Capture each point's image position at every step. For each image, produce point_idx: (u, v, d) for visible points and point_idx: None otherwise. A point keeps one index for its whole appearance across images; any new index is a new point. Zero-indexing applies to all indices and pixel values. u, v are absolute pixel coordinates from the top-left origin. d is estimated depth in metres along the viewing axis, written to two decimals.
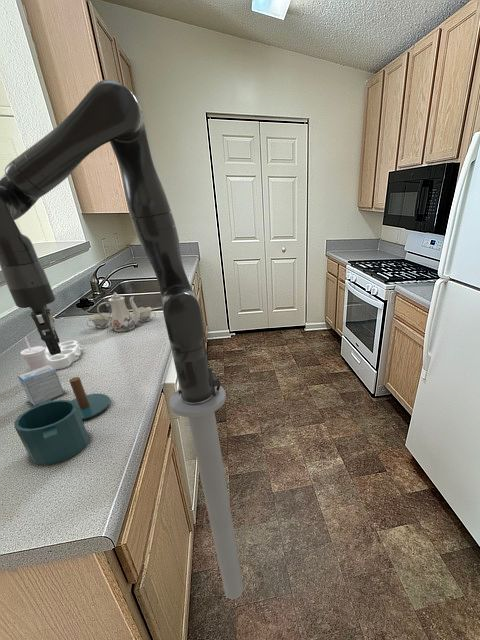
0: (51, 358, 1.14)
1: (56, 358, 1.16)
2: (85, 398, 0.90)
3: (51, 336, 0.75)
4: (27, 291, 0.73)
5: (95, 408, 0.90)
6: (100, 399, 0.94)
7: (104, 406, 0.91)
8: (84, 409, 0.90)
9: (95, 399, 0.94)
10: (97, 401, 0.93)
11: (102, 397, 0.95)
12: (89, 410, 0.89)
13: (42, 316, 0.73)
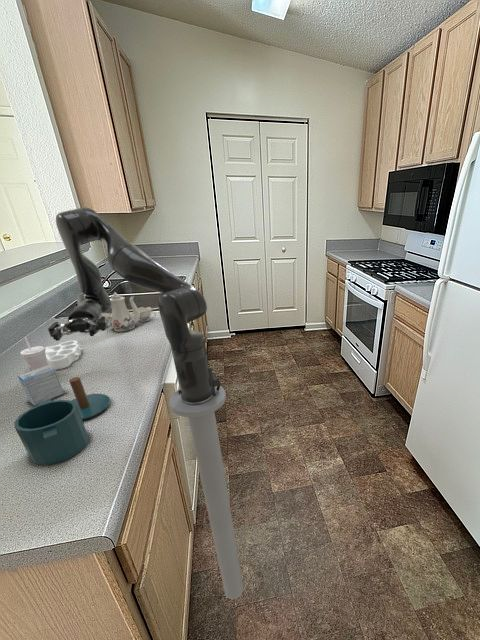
0: (51, 358, 1.14)
1: (56, 358, 1.16)
2: (85, 398, 0.90)
3: None
4: None
5: (95, 408, 0.90)
6: (100, 399, 0.94)
7: (104, 406, 0.91)
8: (84, 409, 0.90)
9: (95, 399, 0.94)
10: (97, 401, 0.93)
11: (102, 397, 0.95)
12: (89, 410, 0.89)
13: None
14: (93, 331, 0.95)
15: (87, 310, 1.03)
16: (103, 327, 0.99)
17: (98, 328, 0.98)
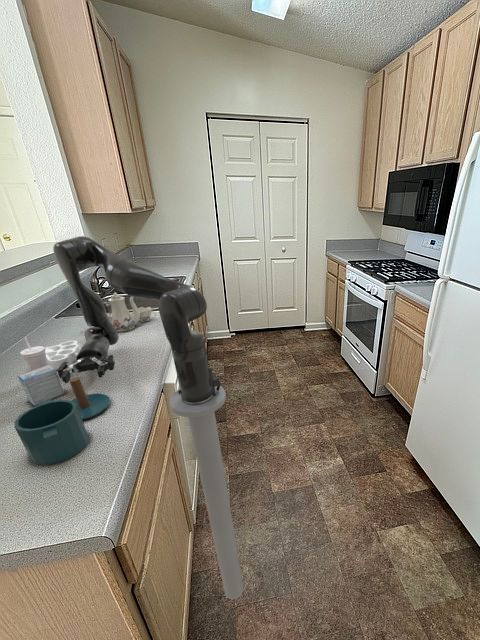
0: (51, 358, 1.14)
1: (56, 358, 1.16)
2: (85, 398, 0.90)
3: None
4: None
5: (95, 408, 0.90)
6: (100, 399, 0.94)
7: (104, 406, 0.91)
8: (84, 409, 0.90)
9: (95, 399, 0.94)
10: (97, 401, 0.93)
11: (102, 397, 0.95)
12: (89, 410, 0.89)
13: None
14: (101, 372, 0.95)
15: (95, 348, 1.03)
16: (111, 367, 1.00)
17: (106, 368, 0.99)
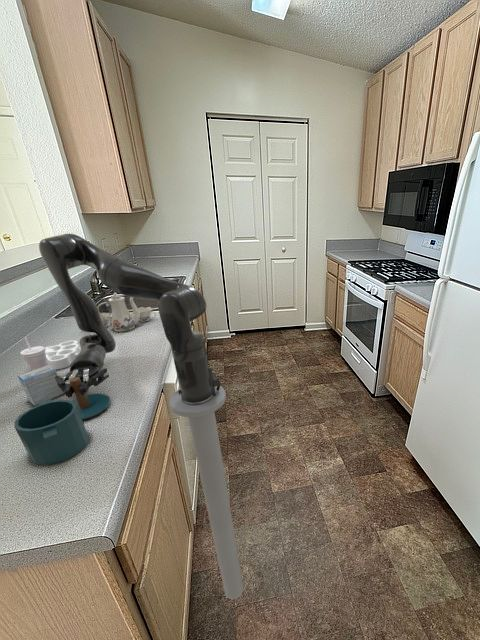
0: (51, 358, 1.14)
1: (56, 358, 1.16)
2: (85, 398, 0.90)
3: None
4: None
5: (95, 408, 0.90)
6: (100, 399, 0.94)
7: (104, 406, 0.91)
8: (84, 409, 0.90)
9: (95, 399, 0.94)
10: (97, 401, 0.93)
11: (102, 397, 0.95)
12: (89, 410, 0.89)
13: (55, 379, 0.92)
14: (84, 389, 0.87)
15: (90, 359, 0.97)
16: (94, 383, 0.91)
17: (90, 384, 0.90)
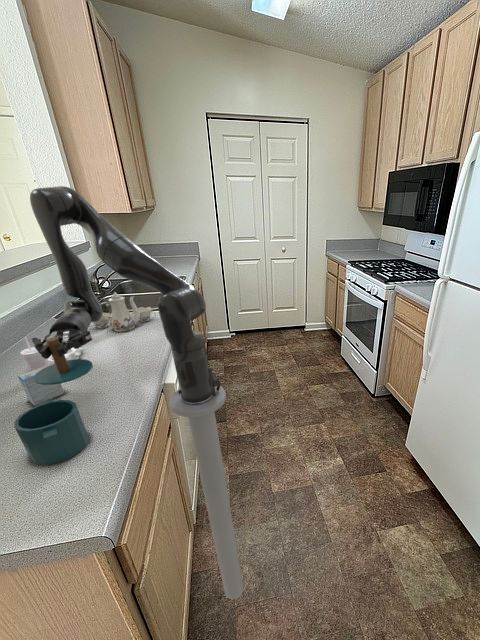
0: (51, 358, 1.14)
1: None
2: (64, 361, 0.81)
3: None
4: None
5: (75, 372, 0.82)
6: (82, 364, 0.85)
7: (85, 370, 0.82)
8: (63, 373, 0.81)
9: (76, 364, 0.86)
10: (78, 366, 0.85)
11: (84, 363, 0.86)
12: (68, 374, 0.81)
13: (32, 341, 0.83)
14: (63, 350, 0.79)
15: (72, 321, 0.88)
16: (75, 345, 0.83)
17: (70, 346, 0.82)
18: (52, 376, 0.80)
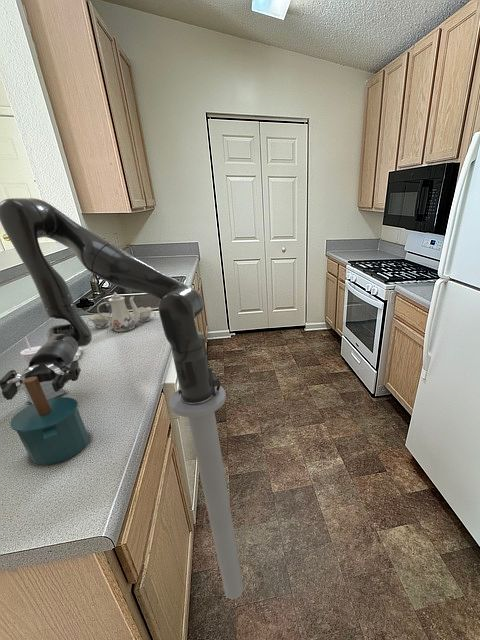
0: None
1: None
2: (45, 403, 0.72)
3: None
4: None
5: (57, 415, 0.72)
6: (66, 404, 0.76)
7: (69, 413, 0.73)
8: (44, 416, 0.72)
9: (60, 404, 0.76)
10: (61, 406, 0.75)
11: (68, 402, 0.77)
12: (50, 418, 0.71)
13: None
14: (59, 385, 0.71)
15: (55, 352, 0.79)
16: (74, 376, 0.75)
17: (67, 378, 0.74)
18: (31, 421, 0.71)
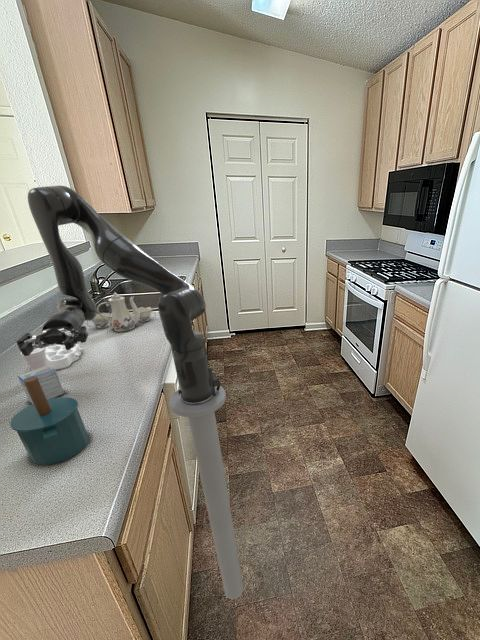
0: (51, 358, 1.14)
1: (56, 358, 1.16)
2: (45, 403, 0.72)
3: None
4: None
5: (57, 415, 0.72)
6: (66, 404, 0.76)
7: (69, 413, 0.73)
8: (44, 416, 0.72)
9: (60, 404, 0.76)
10: (61, 406, 0.75)
11: (68, 402, 0.77)
12: (50, 418, 0.71)
13: None
14: (70, 344, 0.80)
15: (65, 319, 0.88)
16: (83, 339, 0.84)
17: (76, 340, 0.83)
18: (31, 421, 0.71)
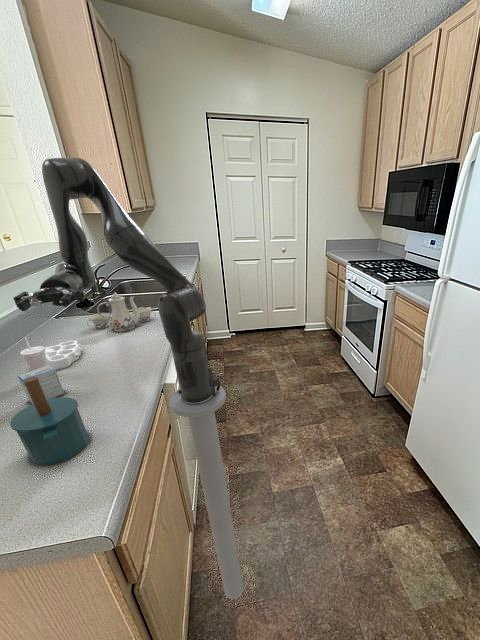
0: (51, 358, 1.14)
1: (56, 358, 1.16)
2: (45, 403, 0.72)
3: None
4: None
5: (57, 415, 0.72)
6: (66, 404, 0.76)
7: (69, 413, 0.73)
8: (44, 416, 0.72)
9: (60, 404, 0.76)
10: (61, 406, 0.75)
11: (68, 402, 0.77)
12: (50, 418, 0.71)
13: None
14: (67, 300, 0.80)
15: (62, 279, 0.88)
16: (80, 297, 0.84)
17: (74, 298, 0.83)
18: (31, 421, 0.71)
